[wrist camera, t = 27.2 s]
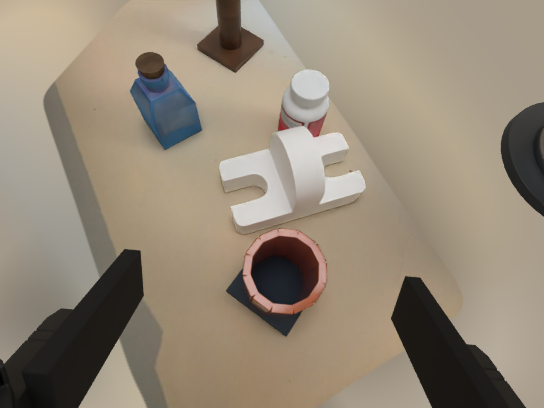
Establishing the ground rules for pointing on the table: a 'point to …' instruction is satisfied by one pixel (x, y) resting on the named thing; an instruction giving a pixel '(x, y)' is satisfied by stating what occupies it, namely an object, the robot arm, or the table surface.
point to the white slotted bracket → (290, 179)
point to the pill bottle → (305, 102)
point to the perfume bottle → (164, 101)
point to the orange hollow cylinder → (297, 252)
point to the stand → (230, 37)
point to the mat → (272, 289)
